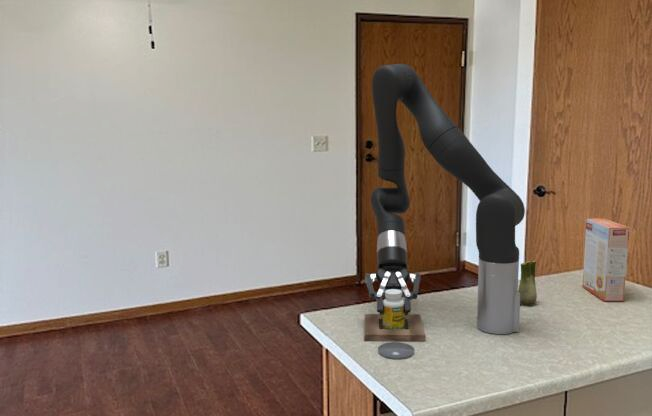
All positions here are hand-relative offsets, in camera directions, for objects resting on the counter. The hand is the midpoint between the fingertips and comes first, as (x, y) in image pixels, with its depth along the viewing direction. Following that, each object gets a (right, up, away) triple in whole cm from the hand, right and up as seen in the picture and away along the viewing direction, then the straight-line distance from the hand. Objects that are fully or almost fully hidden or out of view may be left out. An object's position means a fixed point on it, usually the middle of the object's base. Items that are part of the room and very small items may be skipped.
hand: (394, 313), depth 138 cm
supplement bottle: (0, -5, +3) cm, 5 cm away
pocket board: (0, -5, +2) cm, 5 cm away
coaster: (-1, -7, -10) cm, 12 cm away
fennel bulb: (+38, -1, +19) cm, 43 cm away
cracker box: (+63, 0, +27) cm, 68 cm away
